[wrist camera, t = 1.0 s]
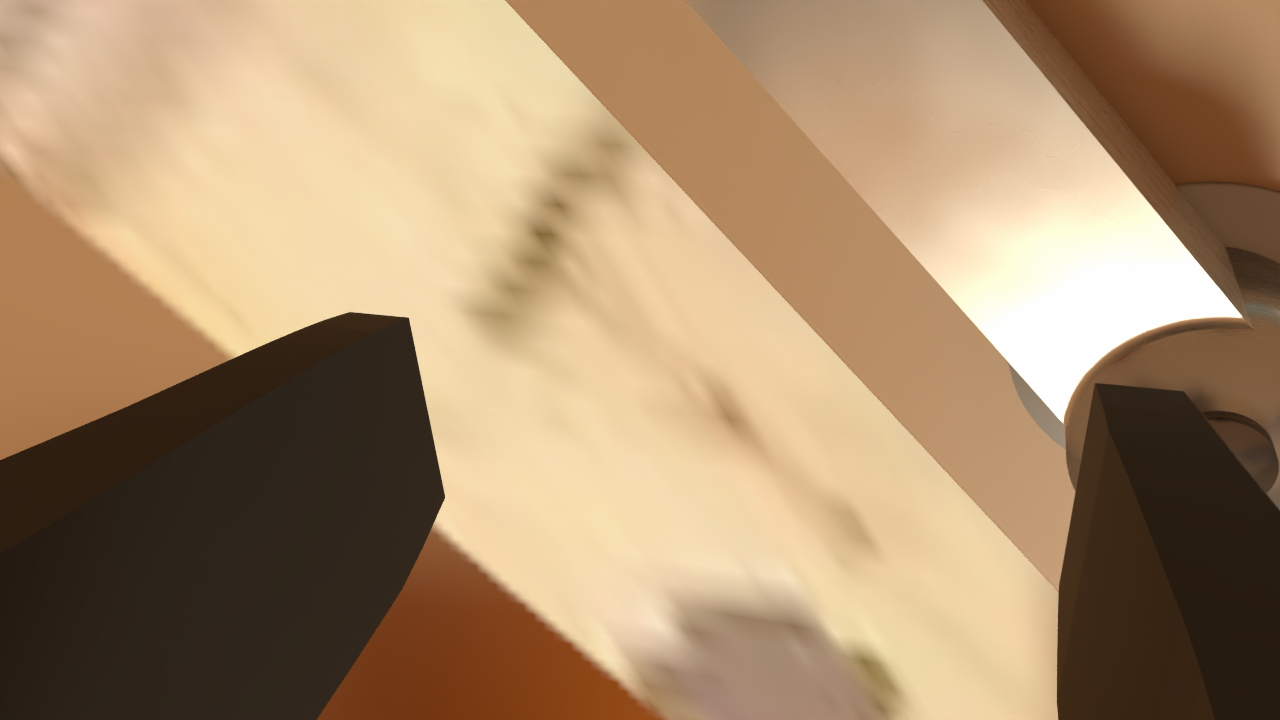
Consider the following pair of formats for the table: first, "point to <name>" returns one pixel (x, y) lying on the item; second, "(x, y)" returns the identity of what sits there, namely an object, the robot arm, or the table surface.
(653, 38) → the door board
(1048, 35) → the lock bar
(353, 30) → the table surface
